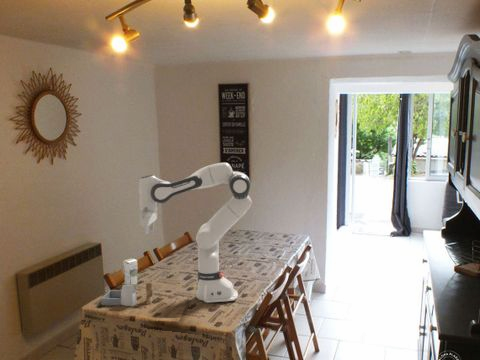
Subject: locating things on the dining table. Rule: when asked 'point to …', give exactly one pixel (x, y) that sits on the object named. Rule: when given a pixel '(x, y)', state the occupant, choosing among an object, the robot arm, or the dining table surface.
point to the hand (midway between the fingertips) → (149, 232)
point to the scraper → (149, 292)
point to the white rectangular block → (128, 295)
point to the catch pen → (111, 301)
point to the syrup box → (130, 272)
